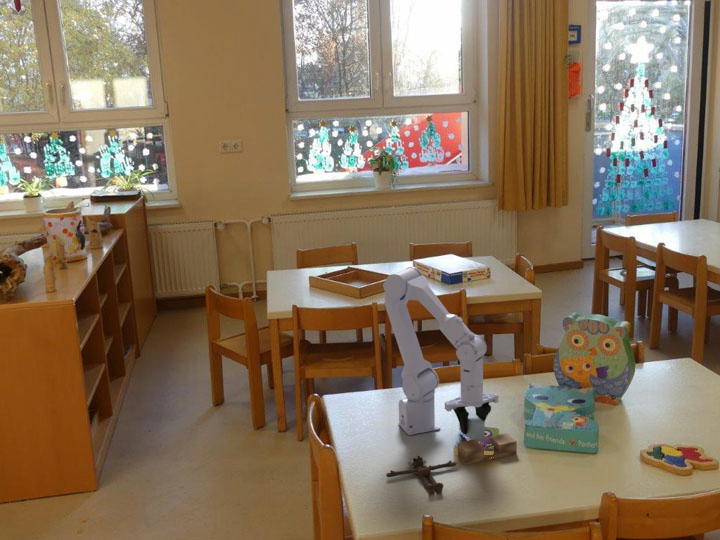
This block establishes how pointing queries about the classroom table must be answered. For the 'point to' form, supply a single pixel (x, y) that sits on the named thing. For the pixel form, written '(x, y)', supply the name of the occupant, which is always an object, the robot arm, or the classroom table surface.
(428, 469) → the brown monkey toy
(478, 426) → the pale grey-blue block
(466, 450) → the brown u-shaped block
